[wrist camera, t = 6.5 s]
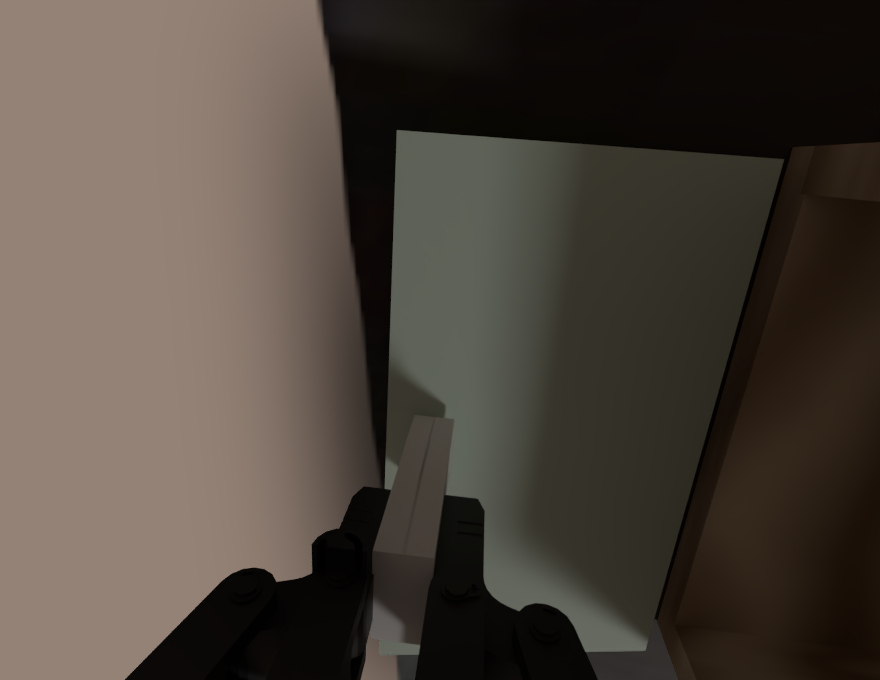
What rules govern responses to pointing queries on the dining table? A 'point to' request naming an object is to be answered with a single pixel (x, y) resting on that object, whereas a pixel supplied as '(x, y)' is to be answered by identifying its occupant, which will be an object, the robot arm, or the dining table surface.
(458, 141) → the door
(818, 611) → the cabinet
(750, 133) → the dining table surface
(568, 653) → the robot arm
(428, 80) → the dining table surface
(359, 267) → the dining table surface
